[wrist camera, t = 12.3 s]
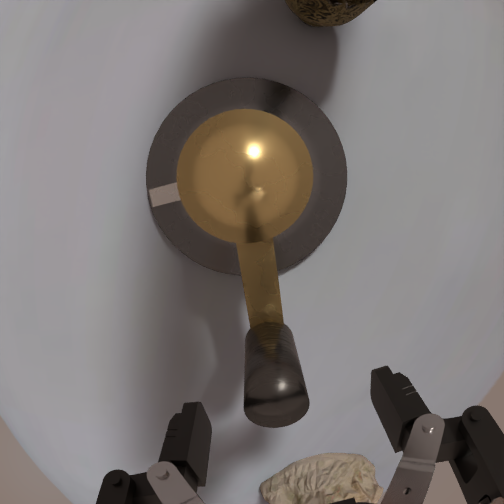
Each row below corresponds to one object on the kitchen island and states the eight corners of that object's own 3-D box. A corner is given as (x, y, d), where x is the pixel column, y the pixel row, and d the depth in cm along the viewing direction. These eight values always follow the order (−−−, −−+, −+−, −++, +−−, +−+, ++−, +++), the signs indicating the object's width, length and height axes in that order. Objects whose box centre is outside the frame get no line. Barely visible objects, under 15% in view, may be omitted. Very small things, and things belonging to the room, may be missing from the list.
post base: (135, 109, 21) (103, 93, 16) (320, 69, 21) (340, 42, 15) (176, 286, 25) (157, 318, 20) (355, 251, 25) (383, 272, 19)
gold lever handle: (178, 129, 16) (129, 100, 9) (295, 111, 16) (327, 68, 9) (220, 352, 20) (209, 433, 13) (320, 338, 20) (349, 414, 12)
